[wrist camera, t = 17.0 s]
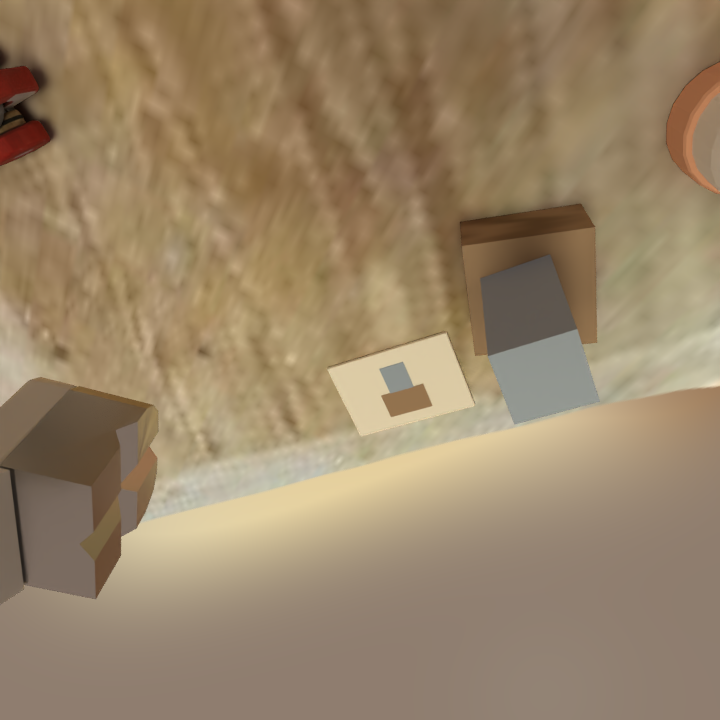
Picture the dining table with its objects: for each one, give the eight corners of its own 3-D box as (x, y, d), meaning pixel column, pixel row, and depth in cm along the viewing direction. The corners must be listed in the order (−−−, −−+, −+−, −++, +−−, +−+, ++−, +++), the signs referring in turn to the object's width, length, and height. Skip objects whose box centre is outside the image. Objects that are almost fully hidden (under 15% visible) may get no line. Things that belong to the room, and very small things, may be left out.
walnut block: (472, 322, 48) (475, 355, 44) (460, 220, 44) (461, 246, 40) (583, 309, 47) (596, 342, 42) (580, 202, 43) (595, 227, 38)
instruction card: (361, 434, 54) (360, 436, 54) (327, 367, 51) (326, 370, 51) (474, 403, 51) (474, 406, 51) (446, 331, 48) (446, 333, 48)
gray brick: (501, 336, 43) (514, 424, 34) (480, 278, 41) (487, 356, 32) (569, 315, 42) (599, 401, 33) (550, 254, 40) (577, 328, 31)
